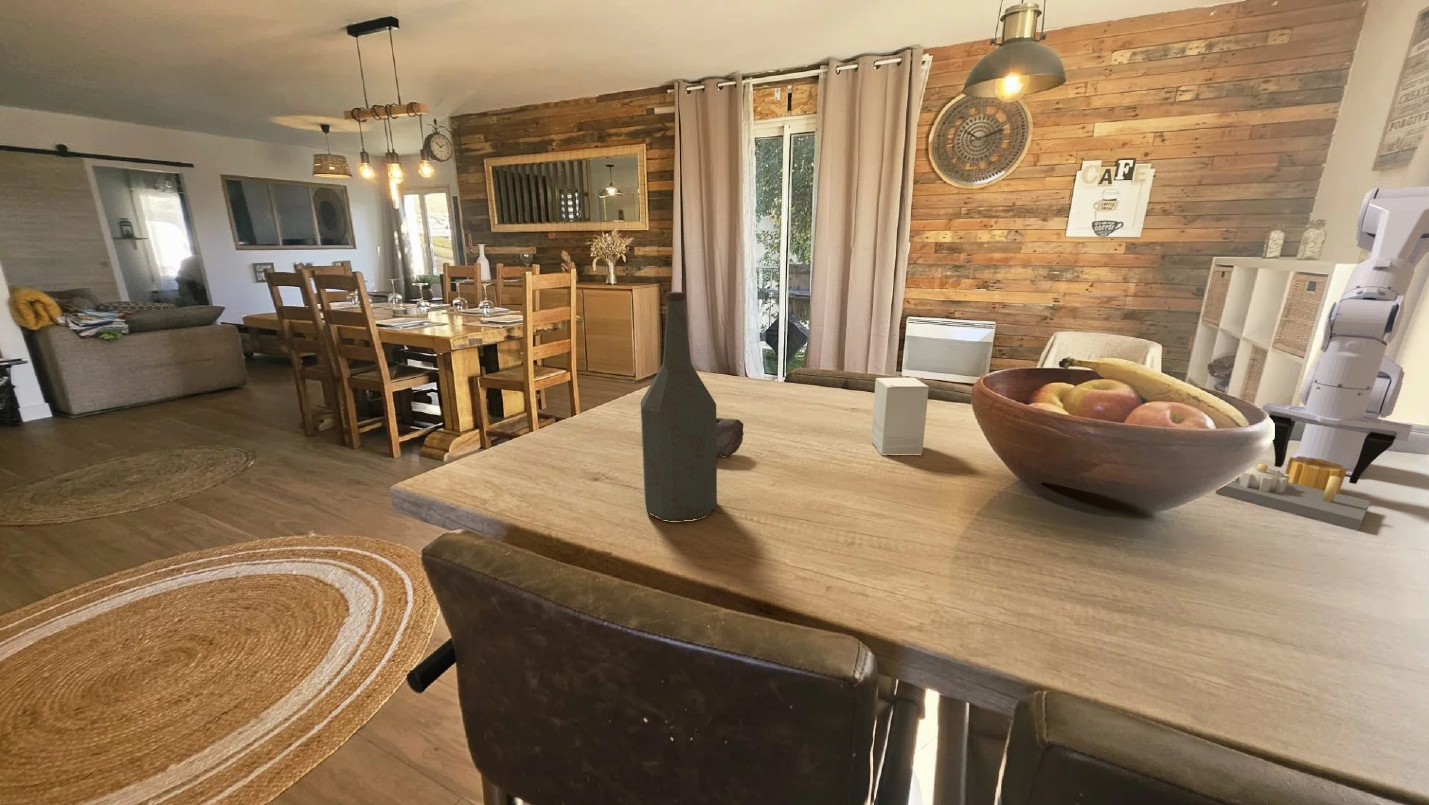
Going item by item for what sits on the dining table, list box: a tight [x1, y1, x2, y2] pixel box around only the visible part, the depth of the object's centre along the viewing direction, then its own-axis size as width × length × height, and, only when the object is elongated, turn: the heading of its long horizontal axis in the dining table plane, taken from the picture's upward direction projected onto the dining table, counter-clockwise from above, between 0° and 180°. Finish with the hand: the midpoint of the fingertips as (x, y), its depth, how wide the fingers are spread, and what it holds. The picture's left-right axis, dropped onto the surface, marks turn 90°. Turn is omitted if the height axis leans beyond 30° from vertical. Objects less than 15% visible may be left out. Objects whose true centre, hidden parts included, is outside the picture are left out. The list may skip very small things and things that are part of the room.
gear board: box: [1215, 463, 1371, 531], centre depth 77 cm, size 9×14×5 cm, turn 36°
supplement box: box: [870, 377, 930, 455], centre depth 98 cm, size 7×7×13 cm
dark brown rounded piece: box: [716, 417, 745, 458], centre depth 96 cm, size 15×5×7 cm, turn 78°
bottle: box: [640, 291, 718, 521], centre depth 73 cm, size 10×10×30 cm
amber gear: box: [1284, 456, 1347, 494], centre depth 82 cm, size 6×6×4 cm
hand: (1314, 473), depth 82 cm, fingers open, 7 cm apart
